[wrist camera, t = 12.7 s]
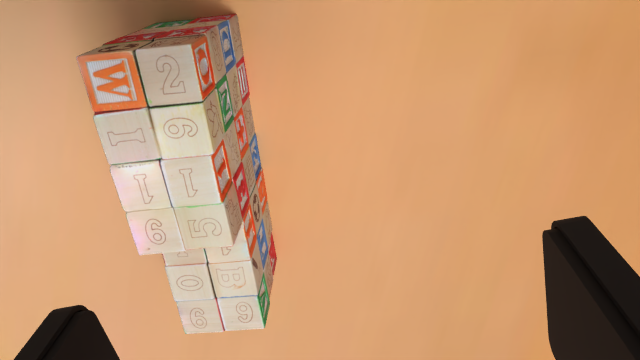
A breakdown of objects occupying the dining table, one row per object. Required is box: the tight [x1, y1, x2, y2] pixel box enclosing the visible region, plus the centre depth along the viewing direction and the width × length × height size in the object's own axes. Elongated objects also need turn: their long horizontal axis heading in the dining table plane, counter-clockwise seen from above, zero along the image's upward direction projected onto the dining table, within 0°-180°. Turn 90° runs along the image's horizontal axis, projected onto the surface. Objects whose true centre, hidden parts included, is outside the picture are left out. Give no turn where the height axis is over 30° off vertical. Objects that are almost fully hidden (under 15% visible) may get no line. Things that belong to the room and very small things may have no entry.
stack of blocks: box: [77, 14, 277, 334], centre depth 36 cm, size 21×6×12 cm, turn 6°
